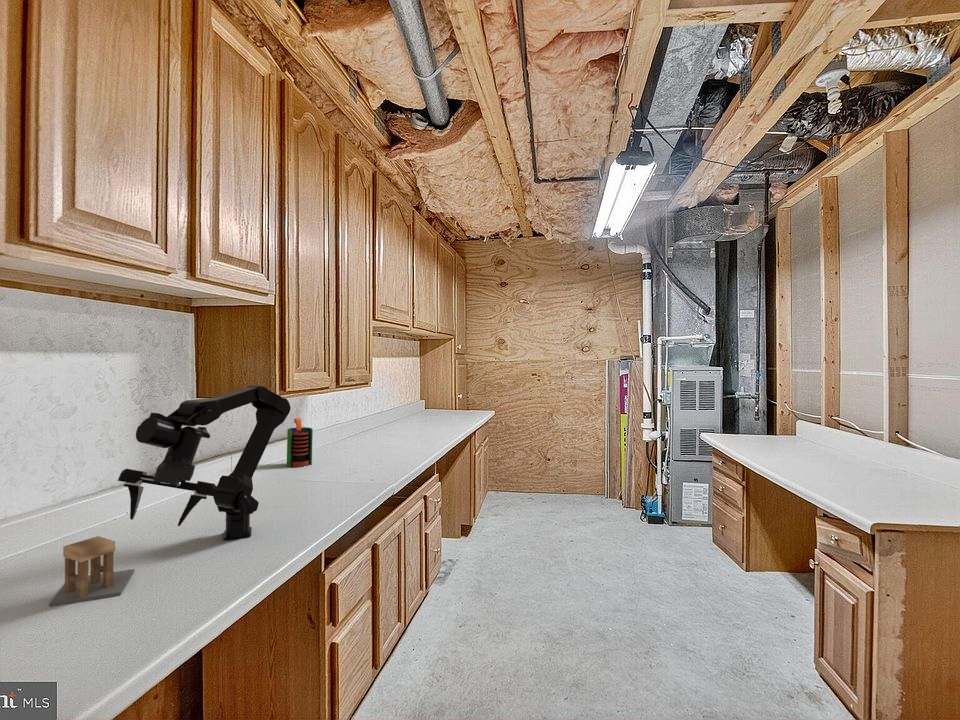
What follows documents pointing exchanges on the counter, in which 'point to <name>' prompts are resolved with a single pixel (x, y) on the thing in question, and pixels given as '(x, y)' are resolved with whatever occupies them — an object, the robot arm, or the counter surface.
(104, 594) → the mat
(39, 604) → the counter surface
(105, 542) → the stool
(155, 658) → the counter surface
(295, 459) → the motor
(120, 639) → the counter surface
